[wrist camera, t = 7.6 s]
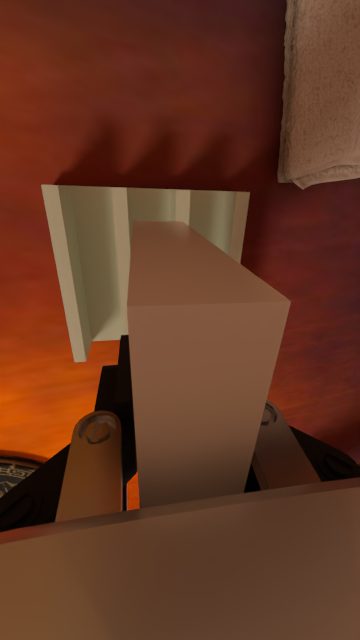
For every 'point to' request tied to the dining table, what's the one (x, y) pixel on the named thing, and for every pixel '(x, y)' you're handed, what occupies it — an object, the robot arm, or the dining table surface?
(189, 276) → the tall tan prism
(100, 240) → the dish rack
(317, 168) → the washcloth
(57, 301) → the dining table surface
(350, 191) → the dining table surface
